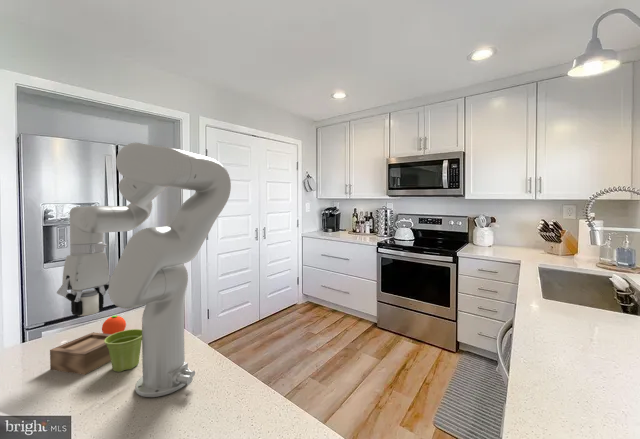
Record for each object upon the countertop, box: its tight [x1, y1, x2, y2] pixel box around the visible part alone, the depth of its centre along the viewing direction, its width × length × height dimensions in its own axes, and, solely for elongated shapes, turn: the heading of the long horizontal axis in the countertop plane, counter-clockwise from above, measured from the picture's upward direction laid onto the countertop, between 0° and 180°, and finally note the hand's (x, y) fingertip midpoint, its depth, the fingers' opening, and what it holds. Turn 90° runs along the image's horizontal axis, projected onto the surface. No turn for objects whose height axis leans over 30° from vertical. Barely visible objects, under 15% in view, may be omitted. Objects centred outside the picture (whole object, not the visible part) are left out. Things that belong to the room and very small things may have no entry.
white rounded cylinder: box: [77, 290, 100, 317], centre depth 83 cm, size 5×5×6 cm
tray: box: [49, 332, 112, 376], centre depth 83 cm, size 12×12×6 cm
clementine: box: [101, 315, 127, 334], centre depth 101 cm, size 8×7×7 cm
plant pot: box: [104, 328, 142, 373], centre depth 80 cm, size 9×9×9 cm
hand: (88, 310), depth 83 cm, fingers closed on white rounded cylinder, 5 cm apart
